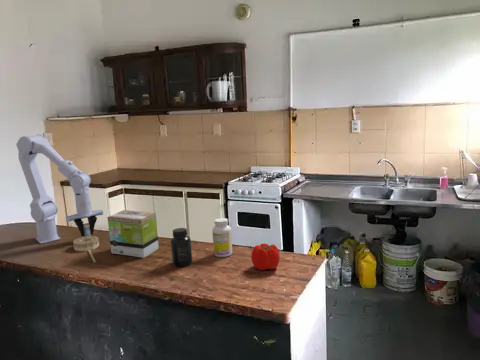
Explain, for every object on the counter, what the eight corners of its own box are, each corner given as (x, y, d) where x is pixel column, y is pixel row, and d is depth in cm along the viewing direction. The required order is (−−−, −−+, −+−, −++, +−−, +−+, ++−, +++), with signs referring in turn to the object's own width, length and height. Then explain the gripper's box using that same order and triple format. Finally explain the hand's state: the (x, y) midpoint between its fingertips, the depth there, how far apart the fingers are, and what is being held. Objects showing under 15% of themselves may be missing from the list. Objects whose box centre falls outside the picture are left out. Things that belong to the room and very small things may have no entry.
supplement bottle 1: (195, 260, 141) (193, 227, 139) (187, 268, 135) (184, 233, 133) (178, 258, 144) (175, 226, 142) (168, 266, 137) (165, 232, 135)
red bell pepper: (247, 267, 133) (246, 245, 132) (267, 260, 139) (266, 239, 137) (265, 276, 126) (264, 253, 125) (286, 268, 131) (286, 246, 130)
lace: (88, 251, 156) (87, 250, 156) (89, 250, 157) (89, 249, 156) (93, 262, 144) (93, 261, 144) (95, 262, 144) (95, 261, 144)
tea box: (110, 254, 151) (106, 216, 149) (127, 245, 161) (123, 209, 158) (144, 258, 146) (140, 218, 143) (159, 249, 155) (156, 211, 152)
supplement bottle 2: (221, 249, 151) (219, 216, 148) (236, 252, 147) (234, 218, 145) (210, 255, 145) (207, 221, 143) (225, 259, 142) (223, 223, 139)
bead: (71, 247, 162) (70, 239, 161) (94, 241, 167) (93, 234, 166) (78, 253, 155) (77, 245, 154) (102, 247, 160) (101, 239, 159)
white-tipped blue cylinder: (82, 240, 169) (80, 224, 168) (90, 238, 171) (88, 222, 170) (85, 242, 167) (83, 225, 165) (92, 240, 169) (90, 224, 167)
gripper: (67, 208, 158) (71, 241, 161) (104, 201, 167) (107, 233, 170) (62, 205, 164) (66, 237, 166) (98, 198, 173) (101, 229, 175)
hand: (87, 235), depth 168 cm, fingers closed on white-tipped blue cylinder, 3 cm apart
